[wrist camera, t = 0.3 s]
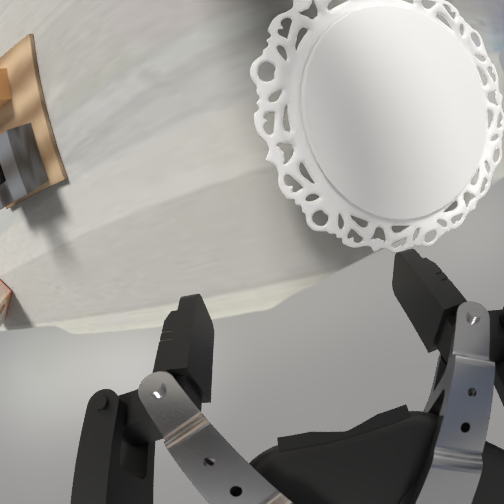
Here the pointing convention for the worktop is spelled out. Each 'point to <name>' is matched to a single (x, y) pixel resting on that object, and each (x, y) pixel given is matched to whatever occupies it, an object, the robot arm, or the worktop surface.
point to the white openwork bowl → (381, 116)
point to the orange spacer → (4, 87)
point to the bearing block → (26, 130)
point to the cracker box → (4, 301)
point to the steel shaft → (1, 174)
